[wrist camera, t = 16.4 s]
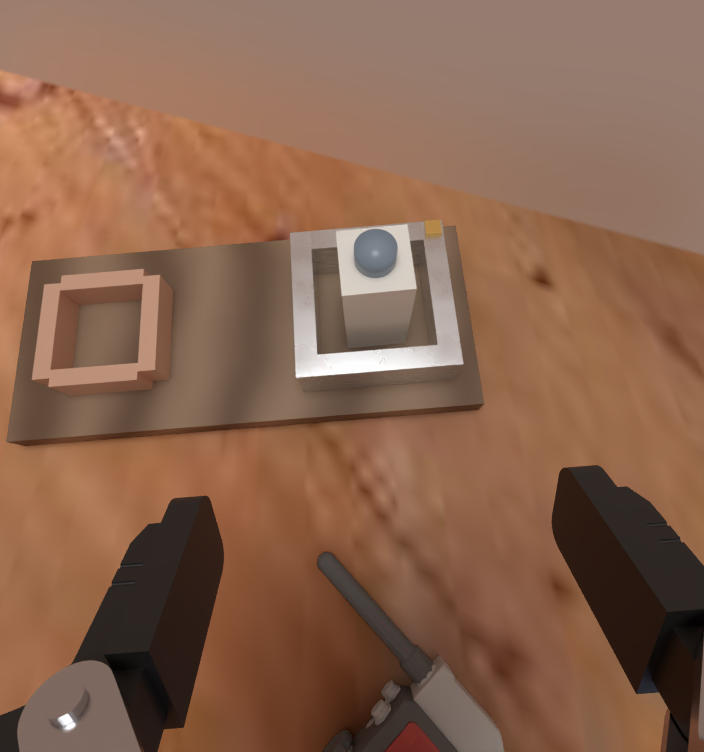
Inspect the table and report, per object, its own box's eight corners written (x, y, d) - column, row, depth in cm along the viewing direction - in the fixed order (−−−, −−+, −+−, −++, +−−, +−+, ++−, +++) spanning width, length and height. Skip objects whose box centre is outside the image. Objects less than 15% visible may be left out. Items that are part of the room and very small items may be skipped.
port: (303, 392, 28) (295, 376, 25) (297, 259, 31) (289, 230, 27) (453, 380, 28) (464, 362, 25) (434, 248, 30) (442, 217, 27)
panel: (24, 445, 29) (6, 441, 28) (46, 272, 33) (32, 261, 31) (478, 409, 29) (484, 403, 27) (451, 238, 32) (455, 225, 31)
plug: (348, 348, 29) (340, 285, 21) (343, 296, 30) (334, 218, 22) (405, 343, 29) (419, 278, 21) (398, 291, 30) (409, 211, 22)
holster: (53, 397, 28) (30, 388, 26) (65, 292, 30) (45, 277, 28) (169, 388, 28) (154, 378, 26) (173, 283, 30) (160, 267, 28)
